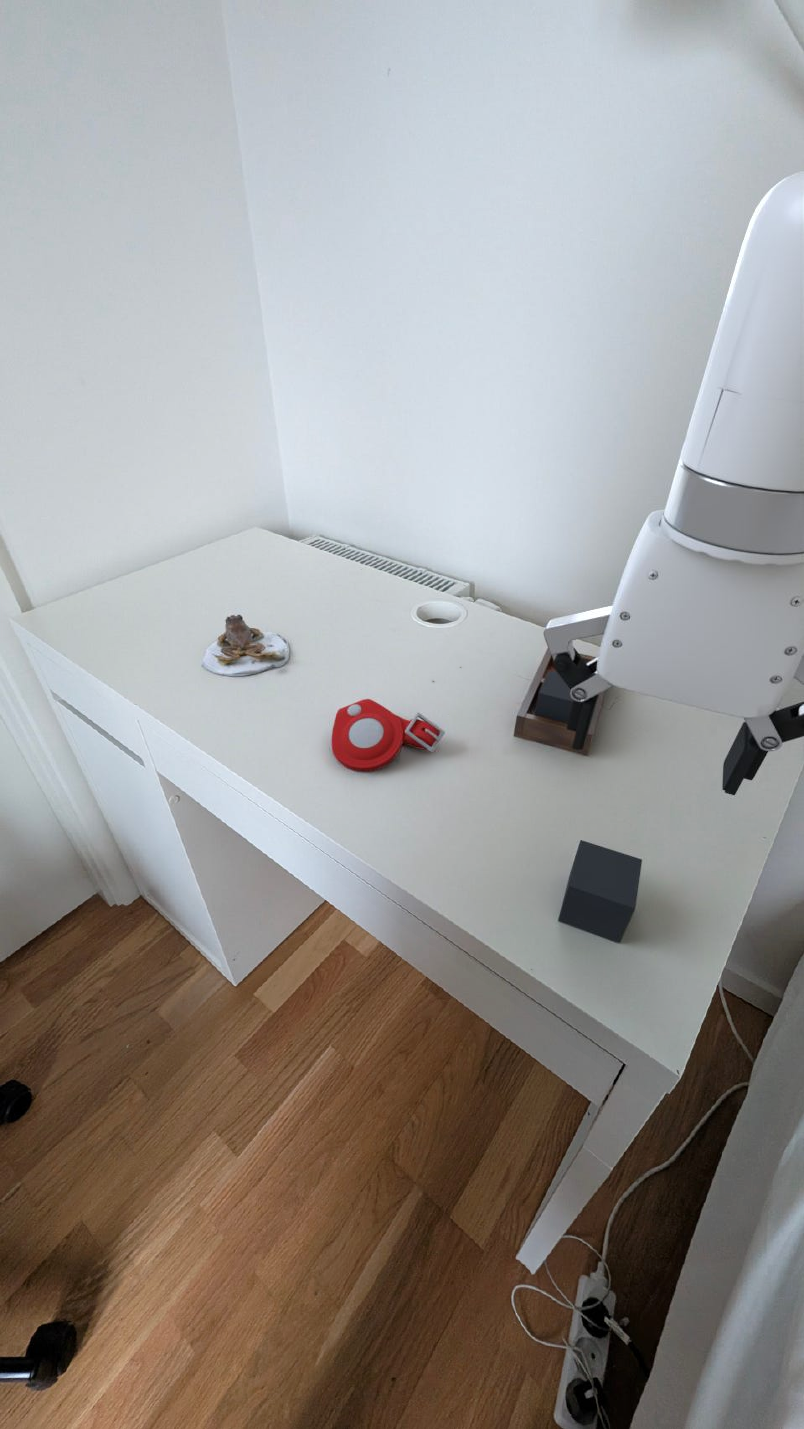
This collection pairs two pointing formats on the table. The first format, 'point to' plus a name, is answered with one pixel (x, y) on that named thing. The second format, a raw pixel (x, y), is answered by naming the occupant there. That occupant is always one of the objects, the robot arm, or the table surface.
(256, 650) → the frog figurine
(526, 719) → the frame
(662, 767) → the table surface
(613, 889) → the dark grey block
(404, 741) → the tracker holder
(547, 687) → the dark grey cube
